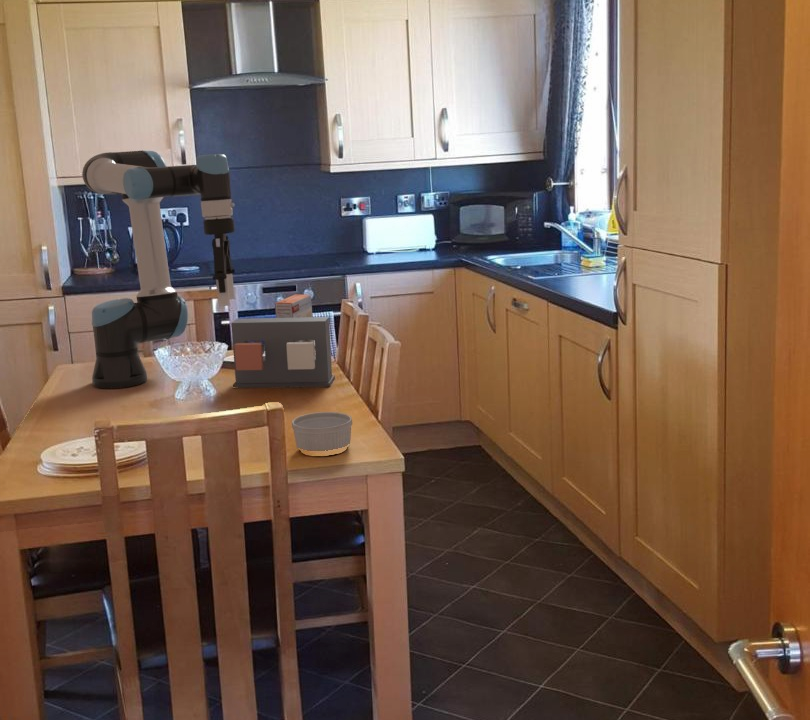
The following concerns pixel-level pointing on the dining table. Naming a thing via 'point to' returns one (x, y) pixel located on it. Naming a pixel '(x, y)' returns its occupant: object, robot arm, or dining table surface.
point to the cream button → (301, 355)
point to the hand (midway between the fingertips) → (227, 302)
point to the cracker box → (294, 308)
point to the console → (284, 351)
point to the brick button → (249, 355)
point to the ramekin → (322, 431)
